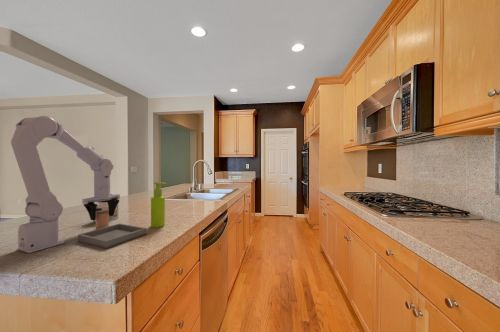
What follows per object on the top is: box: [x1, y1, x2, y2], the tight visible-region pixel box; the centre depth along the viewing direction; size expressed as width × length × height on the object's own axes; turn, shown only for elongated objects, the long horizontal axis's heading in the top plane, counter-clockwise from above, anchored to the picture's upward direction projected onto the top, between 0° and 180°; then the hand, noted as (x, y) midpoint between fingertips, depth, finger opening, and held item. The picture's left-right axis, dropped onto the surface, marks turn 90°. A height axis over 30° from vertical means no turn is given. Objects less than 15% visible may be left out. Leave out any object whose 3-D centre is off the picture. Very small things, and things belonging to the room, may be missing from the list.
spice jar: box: [95, 210, 110, 230], centre depth 92 cm, size 5×5×8 cm
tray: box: [77, 223, 148, 250], centre depth 82 cm, size 16×16×2 cm
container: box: [92, 193, 119, 223], centre depth 107 cm, size 8×8×13 cm
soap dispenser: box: [150, 181, 167, 228], centre depth 98 cm, size 6×7×20 cm
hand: (102, 217), depth 93 cm, fingers open, 7 cm apart
